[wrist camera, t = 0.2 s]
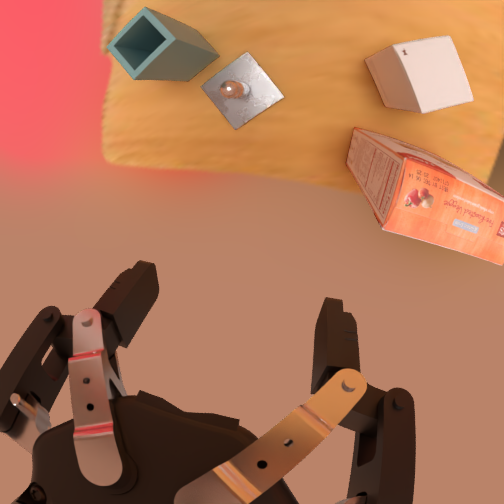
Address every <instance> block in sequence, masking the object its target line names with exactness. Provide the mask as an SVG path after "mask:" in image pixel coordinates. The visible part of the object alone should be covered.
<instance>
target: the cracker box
mask: <svg viewBox="0 0 504 504" xmlns="http://www.w3.org/2000/svg"><path fill="white" fill-rule="evenodd" d="M346 165H347V167H348V168H349V170H350V172H351V173H352V175H353V177H354V178H355V180H356V182H357V184H358V185H359V187H360V189H361V191H362V193H363V194H364V196H365V198H366V200H367V202H368V203H369V205H370V207H371V209H372V211H373V213H374V215H375V217H376V219H377V221H378V223H379V225H380V227H381V228H382V230H385V231H389V232H392V233H396V234H400V235H404V236H408V237H411V238H415V239H418V240H422V241H425V242H429V243H432V244H435V245H439V246H442V247H446V248H449V249H452V250H455V251H459V252H462V253H465V254H469V255H472V256H475V257H478V258H481V259H484V260H487V261H490V262H493V263H495V264H498V265H503V263H504V196H502V195H501V194H499V193H498V192H496V191H495V190H494V189H492V188H491V187H489V186H488V185H486V184H485V183H483V182H482V181H480V180H479V179H477V178H476V177H474V176H472V175H471V174H469V173H467V172H466V171H464V170H463V169H461V168H459V167H457V166H456V165H454V164H452V163H451V162H449V161H447V160H445V159H443V158H442V157H440V156H437V155H435V154H433V153H430V152H428V151H426V150H423V149H421V148H418V147H416V146H413V145H411V144H408V143H405V142H402V141H400V140H397V139H394V138H391V137H388V136H385V135H382V134H378V133H375V132H371V131H368V130H364V129H360V128H356V127H355V128H354V131H353V136H352V140H351V144H350V149H349V153H348V157H347V161H346Z"/></svg>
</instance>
